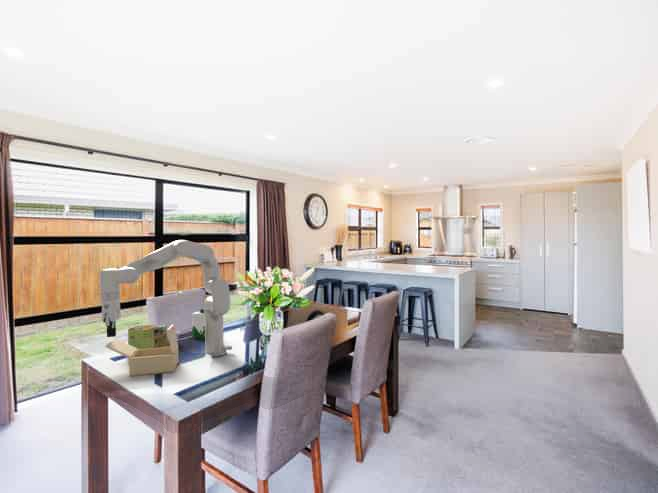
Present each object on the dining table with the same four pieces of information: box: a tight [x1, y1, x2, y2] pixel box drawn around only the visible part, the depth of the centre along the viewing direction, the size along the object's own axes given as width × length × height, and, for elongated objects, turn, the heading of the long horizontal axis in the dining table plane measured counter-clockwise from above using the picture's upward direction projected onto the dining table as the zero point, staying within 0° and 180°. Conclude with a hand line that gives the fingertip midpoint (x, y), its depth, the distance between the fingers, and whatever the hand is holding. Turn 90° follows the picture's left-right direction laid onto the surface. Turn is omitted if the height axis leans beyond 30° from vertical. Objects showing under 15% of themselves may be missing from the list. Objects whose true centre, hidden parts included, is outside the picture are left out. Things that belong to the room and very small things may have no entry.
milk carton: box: [191, 308, 205, 339], centre depth 220 cm, size 9×9×20 cm
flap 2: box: [167, 323, 179, 353], centre depth 164 cm, size 1×12×11 cm, turn 15°
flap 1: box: [105, 337, 137, 359], centre depth 158 cm, size 1×12×11 cm
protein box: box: [127, 324, 168, 350], centre depth 181 cm, size 10×15×16 cm
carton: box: [128, 346, 179, 377], centre depth 162 cm, size 18×14×8 cm
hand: (111, 336), depth 157 cm, fingers closed
